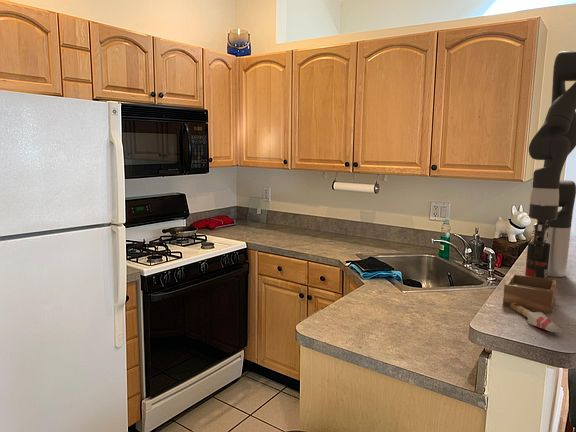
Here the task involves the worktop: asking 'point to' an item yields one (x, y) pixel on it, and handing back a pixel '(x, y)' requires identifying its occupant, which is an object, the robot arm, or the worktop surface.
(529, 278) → the walled box
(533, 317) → the paintbrush
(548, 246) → the deodorant
